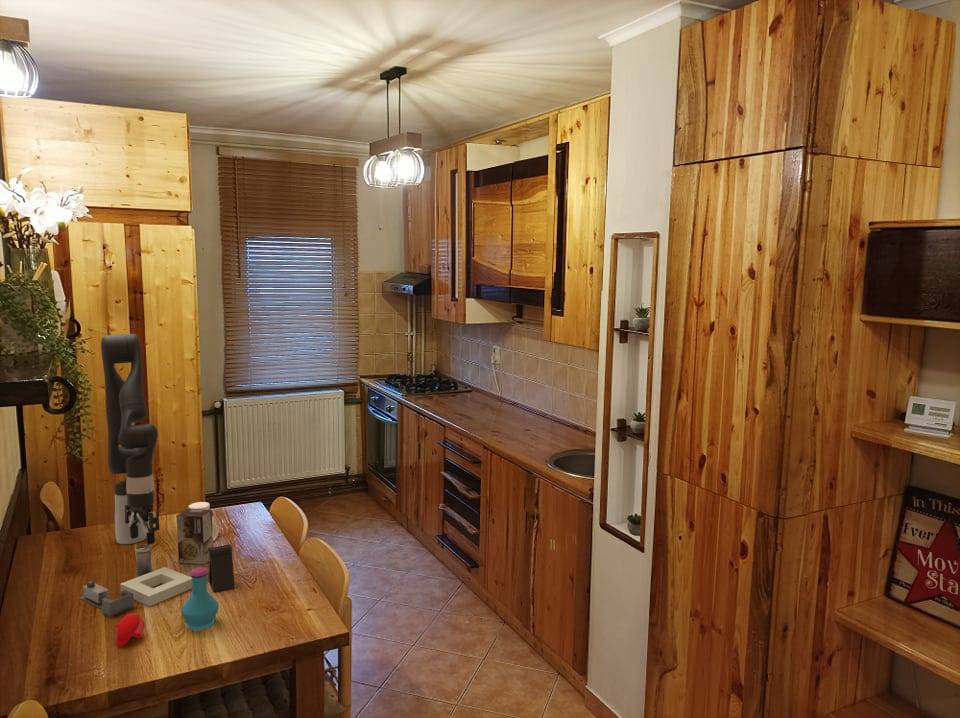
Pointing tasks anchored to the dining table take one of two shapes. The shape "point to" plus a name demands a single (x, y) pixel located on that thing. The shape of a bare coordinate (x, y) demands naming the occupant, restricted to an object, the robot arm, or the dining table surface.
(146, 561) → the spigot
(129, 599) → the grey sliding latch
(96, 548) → the dining table surface
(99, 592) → the bolt
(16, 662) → the dining table surface
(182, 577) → the socket
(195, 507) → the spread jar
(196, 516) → the coffee box
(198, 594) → the perfume bottle
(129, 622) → the cap
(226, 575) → the phone stand
